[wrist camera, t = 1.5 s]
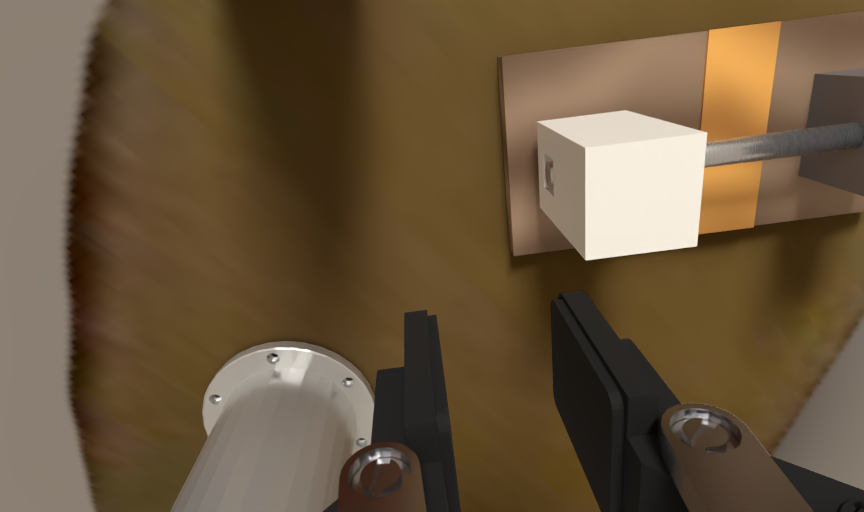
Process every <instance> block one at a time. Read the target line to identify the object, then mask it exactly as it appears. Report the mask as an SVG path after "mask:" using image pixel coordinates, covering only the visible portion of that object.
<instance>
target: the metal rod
mask: <svg viewBox="0 0 864 512" xmlns="http://www.w3.org/2000/svg"><path fill="white" fill-rule="evenodd" d="M863 142H864V127H863V126H862V125H861V124H860V123H857V122H853V123H846V124H838V125H830V126H822V127H814V128H806V129H798V130H790V131H782V132H775V133H767V134H759V135H751V136H743V137H735V138H727V139H719V140H711V141H707V142H706V153H705V164H704V168H708V167H716V166H724V165H732V164H740V163H748V162H756V161H763V160H771V159H779V158H787V157H795V156H803V155H811V154H819V153H827V152H834V151H842V150H850V149H856V148H859V147H860V146H861V145H862V144H863ZM545 177H546V182H547V185H548V187H549V188H550V187H554V179H553V161H547V162H546V165H545Z"/></svg>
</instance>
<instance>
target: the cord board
mask: <svg viewBox="0 0 864 512" xmlns="http://www.w3.org/2000/svg"><path fill="white" fill-rule="evenodd" d="M497 59H498V75H499V91H500V107H501V123H502V139H503V155H504V171H505V187H506V203H507V219H508V235H509V248H510V250H511V252H512V254H513V256H519V255H527V254H535V253H543V252H551V251H559V250H567V249H574V247H573V245H572V244H571V243H570V242H569V241H568V239H567V238H566V237H565V236H564V235H563V234H562V232H561V231H560V230H559V229H558V228H557V227H556V225H555V224H554V223H553V222H552V221H551V220H550V218H549V217H548V216H547V215H546V214H545V213H544V211H543V210H542V209H541V208H540V196H539V169H538V141H537V121H544V120H552V119H560V118H568V117H576V116H584V115H592V114H600V113H608V112H616V111H623V110H627V111H631V112H634V113H638V114H642V115H645V116H649V117H653V118H656V119H660V120H663V121H667V122H671V123H674V124H678V125H682V126H685V127H689V128H693V129H696V130H700V131H704V132H707V141H711V140H719V139H727V138H735V137H743V136H751V135H759V134H767V133H775V132H782V131H790V130H798V129H806V124H807V118H808V112H809V106H810V100H811V94H812V88H813V82H814V75H815V74H817V73H825V72H833V71H841V70H848V69H856V68H864V11H857V12H850V13H842V14H834V15H826V16H818V17H810V18H802V19H794V20H786V21H778V22H770V23H762V24H754V25H746V26H738V27H730V28H723V29H715V30H707V31H699V32H691V33H683V34H675V35H668V36H660V37H652V38H644V39H636V40H628V41H620V42H612V43H604V44H596V45H588V46H581V47H573V48H565V49H557V50H549V51H541V52H533V53H525V54H517V55H509V56H501V57H497ZM800 161H801V156H795V157H787V158H779V159H771V160H763V161H756V162H748V163H740V164H732V165H724V166H716V167H708V168H704V175H703V186H702V198H701V209H700V220H699V231H698V234H706V233H714V232H721V231H729V230H737V229H745V228H753V227H754V226H756V225H763V224H771V223H779V222H787V221H795V220H803V219H811V218H819V217H826V216H834V215H842V214H850V213H858V212H864V196H861V195H857V194H854V193H851V192H848V191H845V190H842V189H839V188H836V187H832V186H829V185H826V184H823V183H820V182H817V181H814V180H811V179H808V178H804V177H801V176H798V173H799V167H800Z"/></svg>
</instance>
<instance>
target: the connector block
mask: <svg viewBox="0 0 864 512" xmlns="http://www.w3.org/2000/svg"><path fill="white" fill-rule="evenodd" d="M853 122H857V123H860V124H861V125H862V126H863V127H864V68H856V69H848V70H841V71H833V72H825V73H817V74H815V75H814V82H813V88H812V94H811V100H810V106H809V112H808V118H807V124H806V128H814V127H822V126H830V125H838V124H846V123H853ZM798 176H801V177H804V178H808V179H811V180H814V181H817V182H820V183H823V184H826V185H829V186H832V187H836V188H839V189H842V190H845V191H848V192H851V193H854V194H857V195H861V196H864V142H863V144H862V145H861V146H860V147H859V148H856V149H850V150H842V151H834V152H827V153H819V154H811V155H803V156H801V161H800V167H799V173H798Z"/></svg>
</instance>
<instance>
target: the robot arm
mask: <svg viewBox="0 0 864 512" xmlns="http://www.w3.org/2000/svg"><path fill="white" fill-rule="evenodd" d="M551 328H552V362H553V392H554V399H555V403H556V406H557V409H558V411H559V414H560V416H561V418H562V421H563V423H564V425H565V428H566V430H567V432H568V435H569V437H570V439H571V442H572V444H573V446H574V449H575V451H576V454H577V456H578V458H579V461H580V463H581V465H582V468H583V470H584V472H585V475H586V477H587V479H588V482H589V484H590V487H591V489H592V491H593V494H594V496H595V498H596V501H597V503H598V505H599V508H600V510H601V512H864V490H861V489H859V488H856V487H853V486H850V485H848V484H845V483H842V482H840V481H837V480H834V479H832V478H829V477H826V476H823V475H821V474H818V473H815V472H813V471H810V470H807V469H805V468H802V467H799V466H796V465H794V464H791V463H788V462H785V461H783V460H780V459H777V458H775V457H772V456H770V455H769V454H768V453H767V451H766V450H765V449H764V447H763V446H762V445H761V444H760V442H759V441H758V440H757V439H756V437H755V436H754V435H753V433H752V432H751V431H750V430H749V428H748V427H747V426H746V425H745V424H744V423H743V422H742V421H741V420H740V419H739V418H737V417H736V416H734V415H732V414H731V413H729V412H728V411H725V410H723V409H720V408H718V407H715V406H711V405H706V404H701V403H684V404H681V403H680V402H679V401H678V399H677V398H676V397H675V395H674V394H673V393H672V392H671V390H670V389H669V388H668V386H667V385H666V384H665V383H664V381H663V380H662V379H661V377H660V376H659V375H658V374H657V372H656V371H655V370H654V368H653V367H652V366H651V365H650V363H649V362H648V361H647V359H646V358H645V357H644V356H643V354H642V353H641V352H640V350H639V349H638V348H637V347H636V345H635V344H634V343H633V342H632V341H631V340H630V339H627V338H626V339H619V337H618V336H617V335H616V333H615V332H614V331H613V329H612V328H611V327H610V325H609V324H608V323H607V321H606V320H605V319H604V317H603V316H602V315H601V313H600V312H599V310H598V309H597V308H596V306H595V305H594V304H593V302H592V301H591V300H590V298H589V297H588V296H587V294H586V293H585V292H584V291H583V290H581V291H573V292H565V293H559V295H558V299H557V300H552V301H551ZM202 415H203V424H204V428H205V430H206V433H207V436H208V438H207V440H206V442H205V444H204V446H203V448H202V450H201V452H200V454H199V456H198V458H197V460H196V462H195V464H194V466H193V468H192V470H191V472H190V474H189V476H188V478H187V480H186V482H185V484H184V486H183V488H182V490H181V492H180V493H179V495H178V497H177V499H176V501H175V503H174V505H173V507H172V509H171V511H170V512H461V509H460V500H459V492H458V484H457V476H456V467H455V459H454V451H453V443H452V434H451V426H450V418H449V410H448V402H447V394H446V387H445V379H444V371H443V363H442V356H441V348H440V340H439V332H438V325H437V317H436V315H431V316H428V314H427V310H423V311H416V312H408V313H405V315H404V367H399V368H391V369H383V370H378V371H377V377H376V389H375V395H374V393H373V391H372V389H371V386H370V384H369V383H368V381H367V380H366V379H365V377H364V376H363V374H362V373H361V372H360V371H359V370H358V369H357V368H356V367H355V366H354V365H353V364H352V363H350V362H349V361H348V360H346V359H345V358H343V357H341V356H340V355H338V354H337V353H335V352H332V351H330V350H328V349H325V348H323V347H321V346H317V345H313V344H308V343H304V342H293V341H280V342H269V343H265V344H261V345H257V346H254V347H251V348H249V349H247V350H245V351H242V352H240V353H238V354H237V355H235V356H234V357H233V358H231V359H230V360H229V361H227V362H226V363H225V364H224V365H223V366H222V368H221V369H220V370H219V371H218V372H217V373H216V375H215V377H214V378H213V380H212V382H211V383H210V385H209V387H208V389H207V391H206V394H205V396H204V401H203V409H202Z"/></svg>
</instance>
